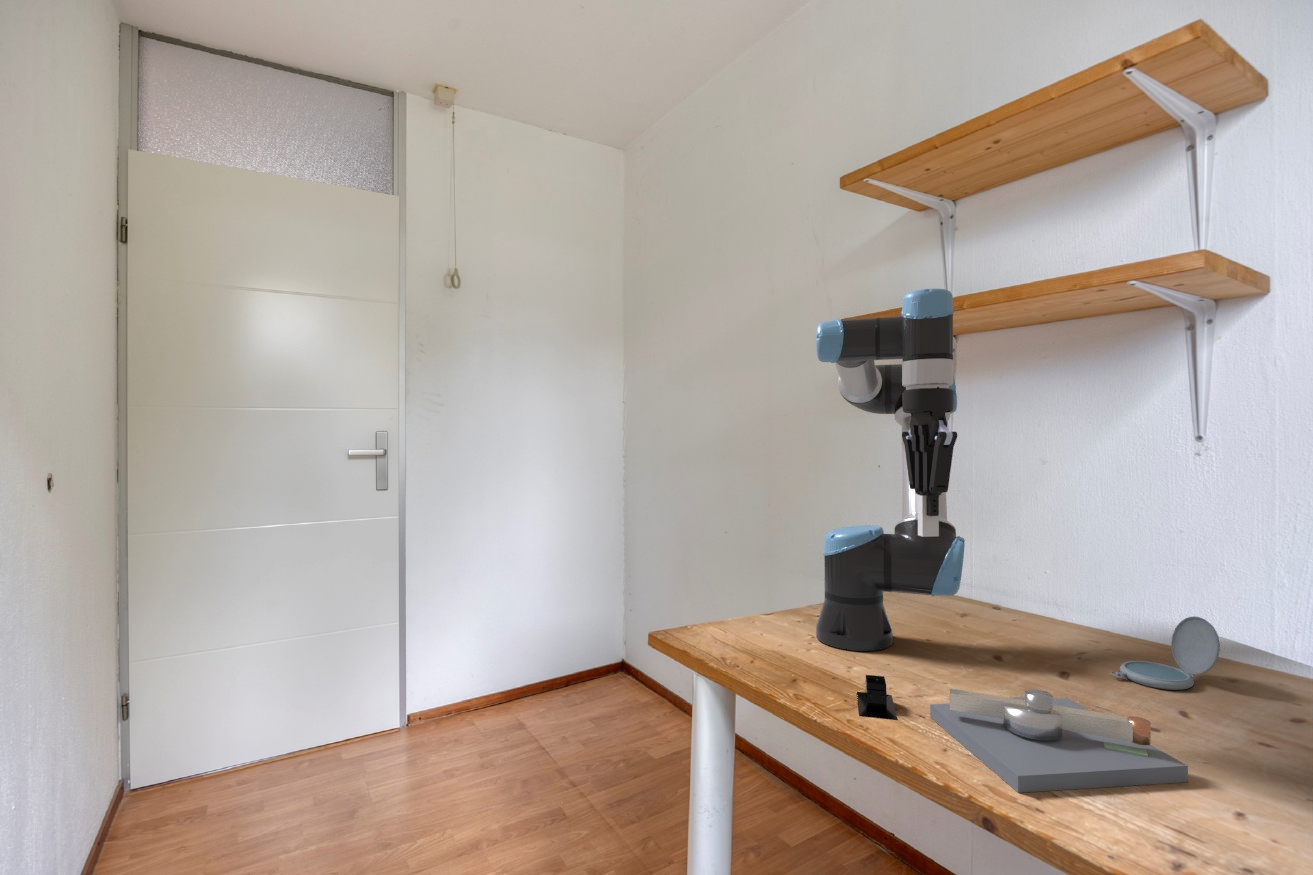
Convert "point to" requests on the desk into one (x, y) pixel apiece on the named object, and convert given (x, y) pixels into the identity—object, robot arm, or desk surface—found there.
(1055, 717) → the rotary pointer lever
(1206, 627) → the pocket watch
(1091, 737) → the stand
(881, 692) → the black stepped block
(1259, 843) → the desk surface
